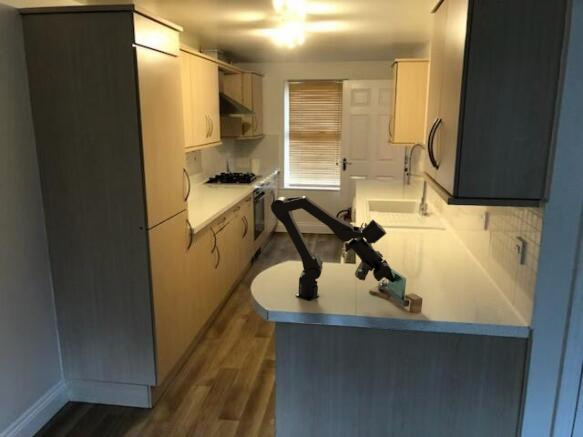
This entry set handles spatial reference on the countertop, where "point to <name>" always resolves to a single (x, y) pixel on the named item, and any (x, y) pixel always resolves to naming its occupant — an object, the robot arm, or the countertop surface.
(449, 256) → the countertop surface
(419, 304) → the block
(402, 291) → the link
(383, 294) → the pintle block
